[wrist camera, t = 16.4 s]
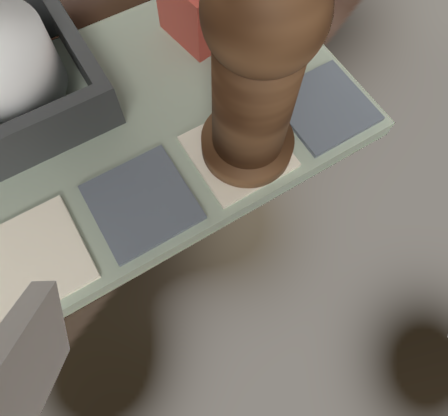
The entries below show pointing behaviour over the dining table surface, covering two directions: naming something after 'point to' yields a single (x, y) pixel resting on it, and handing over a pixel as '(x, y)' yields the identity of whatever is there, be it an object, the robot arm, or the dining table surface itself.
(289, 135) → the pawn
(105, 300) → the dining table surface
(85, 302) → the board
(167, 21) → the die
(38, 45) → the dome
